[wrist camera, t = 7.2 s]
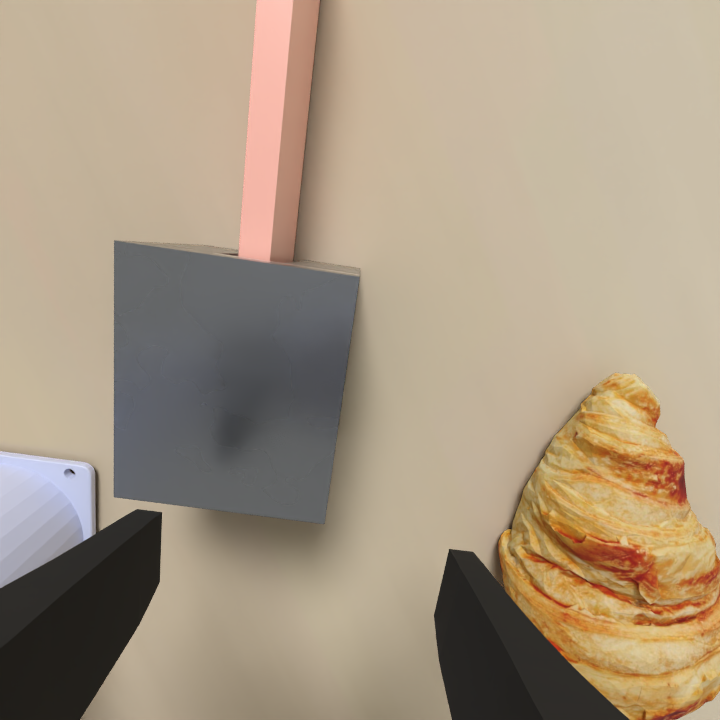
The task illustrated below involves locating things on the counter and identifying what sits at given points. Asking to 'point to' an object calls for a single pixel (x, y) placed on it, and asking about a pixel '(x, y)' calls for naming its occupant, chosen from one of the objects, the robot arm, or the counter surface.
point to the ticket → (277, 127)
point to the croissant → (619, 558)
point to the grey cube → (228, 378)
